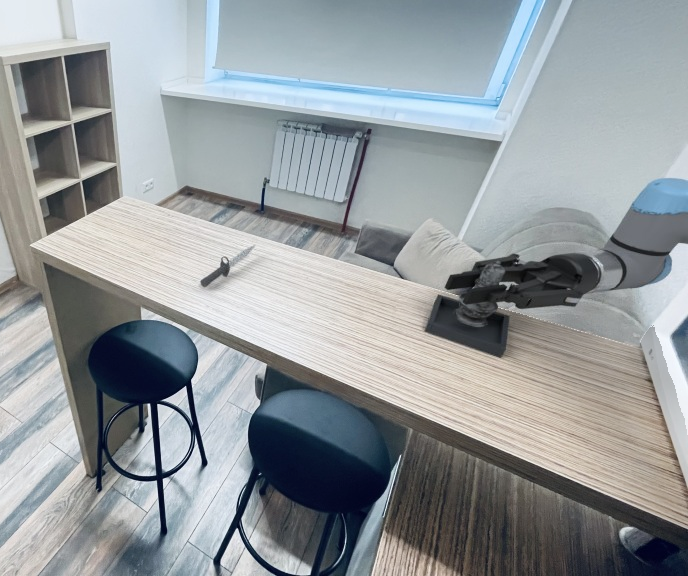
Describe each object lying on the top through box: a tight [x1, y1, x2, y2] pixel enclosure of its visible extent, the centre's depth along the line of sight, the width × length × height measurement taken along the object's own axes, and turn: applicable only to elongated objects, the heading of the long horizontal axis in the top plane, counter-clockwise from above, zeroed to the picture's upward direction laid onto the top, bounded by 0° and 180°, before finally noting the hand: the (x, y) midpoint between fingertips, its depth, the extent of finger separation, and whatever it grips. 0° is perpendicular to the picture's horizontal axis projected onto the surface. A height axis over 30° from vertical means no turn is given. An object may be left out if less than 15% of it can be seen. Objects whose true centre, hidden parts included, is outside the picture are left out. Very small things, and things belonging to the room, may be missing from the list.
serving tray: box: [424, 294, 510, 358], centre depth 74 cm, size 12×11×2 cm
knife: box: [199, 244, 256, 288], centre depth 90 cm, size 19×2×5 cm, turn 137°
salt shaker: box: [453, 260, 505, 327], centre depth 70 cm, size 6×6×12 cm
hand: (458, 289), depth 68 cm, fingers closed on salt shaker, 3 cm apart
